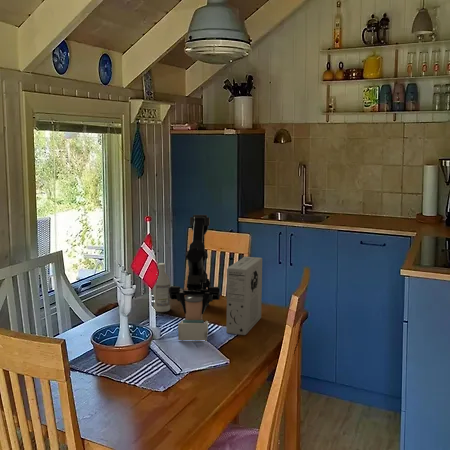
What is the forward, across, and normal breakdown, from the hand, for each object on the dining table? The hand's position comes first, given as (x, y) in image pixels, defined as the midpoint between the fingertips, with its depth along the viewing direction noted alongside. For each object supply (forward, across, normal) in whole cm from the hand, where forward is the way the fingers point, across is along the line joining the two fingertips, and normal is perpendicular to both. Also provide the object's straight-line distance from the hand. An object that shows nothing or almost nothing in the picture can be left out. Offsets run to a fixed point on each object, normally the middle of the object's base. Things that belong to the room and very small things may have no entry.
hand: (193, 313), depth 201 cm
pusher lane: (+6, 0, +6) cm, 8 cm away
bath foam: (-15, -16, +27) cm, 35 cm away
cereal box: (-2, +19, +15) cm, 24 cm away
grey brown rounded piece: (+4, 0, +6) cm, 7 cm away
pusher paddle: (+7, 0, +3) cm, 8 cm away
